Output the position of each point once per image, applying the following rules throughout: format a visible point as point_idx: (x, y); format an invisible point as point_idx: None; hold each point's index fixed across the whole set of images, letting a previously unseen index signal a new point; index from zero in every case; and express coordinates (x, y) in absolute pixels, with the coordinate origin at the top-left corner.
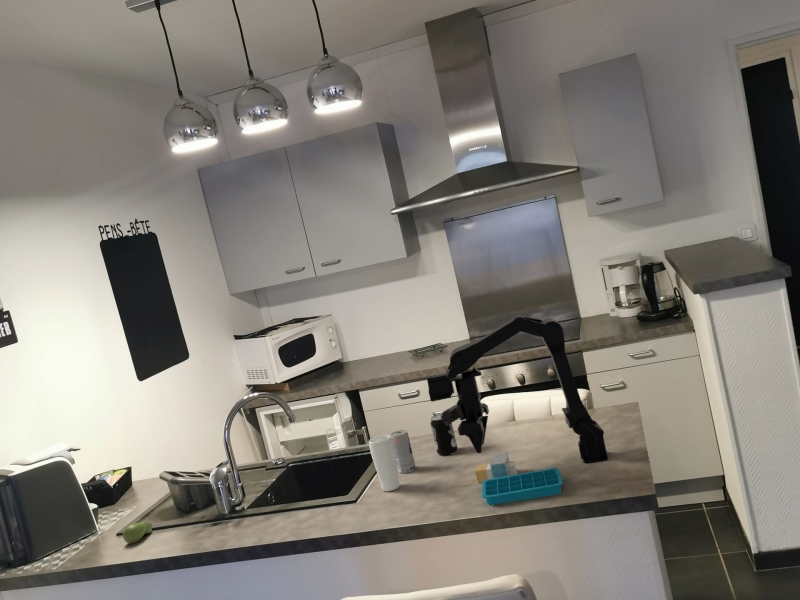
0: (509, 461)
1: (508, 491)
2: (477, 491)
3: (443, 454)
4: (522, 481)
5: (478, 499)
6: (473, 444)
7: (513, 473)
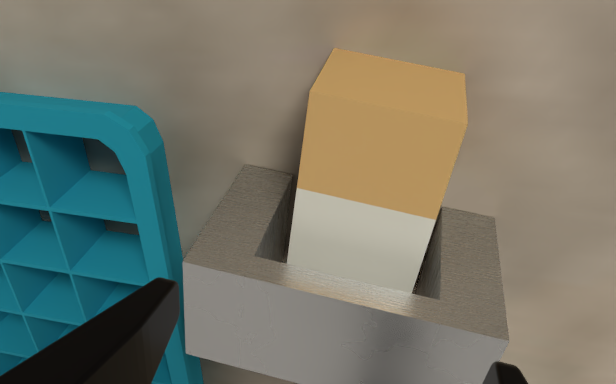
0: None
1: (13, 232)
2: (160, 32)
3: None
4: None
5: (17, 31)
6: (21, 371)
7: None
